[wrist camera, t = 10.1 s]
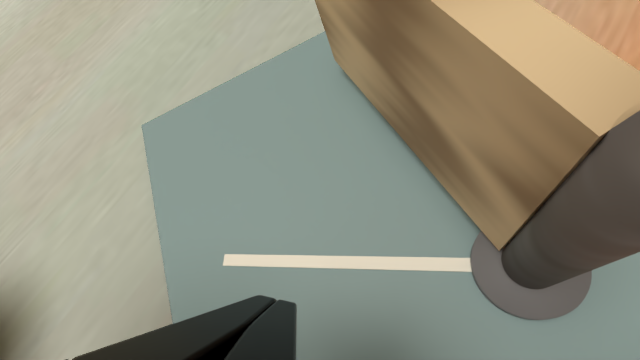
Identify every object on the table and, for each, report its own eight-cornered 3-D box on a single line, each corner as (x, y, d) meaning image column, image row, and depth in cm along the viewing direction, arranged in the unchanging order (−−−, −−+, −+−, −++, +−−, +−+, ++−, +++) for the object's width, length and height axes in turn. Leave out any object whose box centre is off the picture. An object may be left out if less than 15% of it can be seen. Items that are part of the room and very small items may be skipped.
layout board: (839, 457, 9) (882, 470, 8) (236, 672, 11) (219, 703, 10) (430, -17, 19) (430, -33, 19) (146, 128, 21) (134, 119, 20)
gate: (576, 269, 11) (820, 164, 4) (528, 300, 11) (696, 245, 4) (360, 43, 17) (315, -156, 10) (329, 63, 17) (264, -122, 10)
